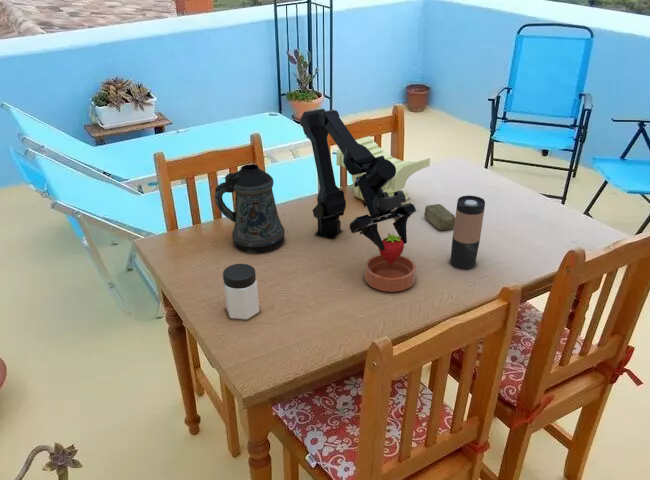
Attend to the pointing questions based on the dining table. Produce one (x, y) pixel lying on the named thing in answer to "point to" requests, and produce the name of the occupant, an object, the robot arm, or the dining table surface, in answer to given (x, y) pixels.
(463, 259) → the travel mug
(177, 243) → the dining table surface
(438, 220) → the stone block
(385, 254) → the strawberry
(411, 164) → the slatted curved stool
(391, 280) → the pot
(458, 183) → the dining table surface
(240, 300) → the jar
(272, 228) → the beer stein
